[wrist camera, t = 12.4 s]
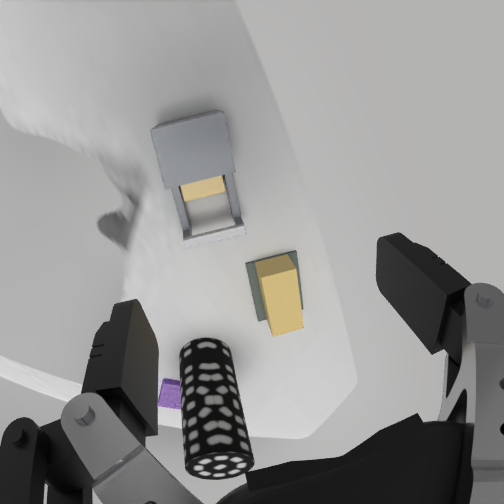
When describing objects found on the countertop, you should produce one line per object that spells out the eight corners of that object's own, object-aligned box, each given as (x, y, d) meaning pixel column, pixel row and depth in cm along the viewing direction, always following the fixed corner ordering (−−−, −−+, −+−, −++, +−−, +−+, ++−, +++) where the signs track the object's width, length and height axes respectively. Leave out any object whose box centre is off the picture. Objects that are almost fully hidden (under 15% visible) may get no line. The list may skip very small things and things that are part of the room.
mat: (245, 263, 44) (246, 264, 43) (295, 250, 44) (296, 251, 44) (258, 319, 48) (258, 321, 48) (302, 307, 49) (303, 309, 48)
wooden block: (254, 262, 43) (261, 277, 40) (287, 254, 44) (296, 268, 40) (266, 319, 48) (272, 336, 45) (295, 311, 48) (303, 327, 45)
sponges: (221, 408, 57) (222, 415, 56) (156, 399, 54) (156, 407, 52) (232, 385, 55) (234, 393, 53) (163, 375, 51) (163, 383, 49)
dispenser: (157, 125, 34) (150, 130, 28) (217, 110, 34) (223, 112, 28) (185, 230, 40) (184, 256, 34) (239, 217, 41) (249, 240, 34)
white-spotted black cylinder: (206, 329, 47) (222, 444, 30) (241, 356, 51) (268, 462, 34) (168, 356, 49) (170, 468, 31) (204, 380, 52) (218, 484, 35)
